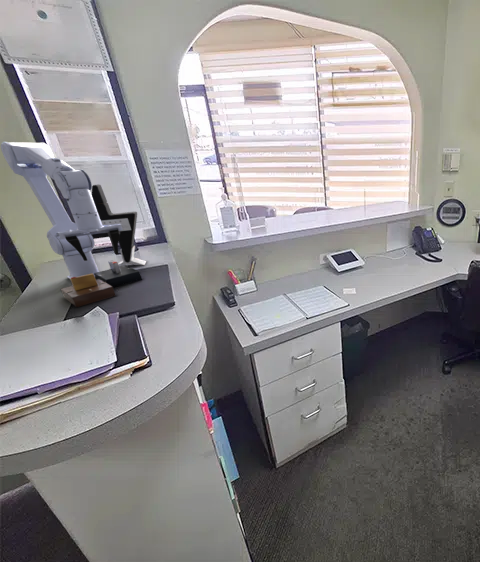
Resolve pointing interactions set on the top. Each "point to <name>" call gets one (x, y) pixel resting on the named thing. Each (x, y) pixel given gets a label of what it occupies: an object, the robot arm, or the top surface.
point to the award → (124, 219)
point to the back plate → (119, 276)
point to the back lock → (114, 267)
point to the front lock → (83, 281)
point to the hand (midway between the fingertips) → (101, 257)
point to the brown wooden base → (88, 293)
